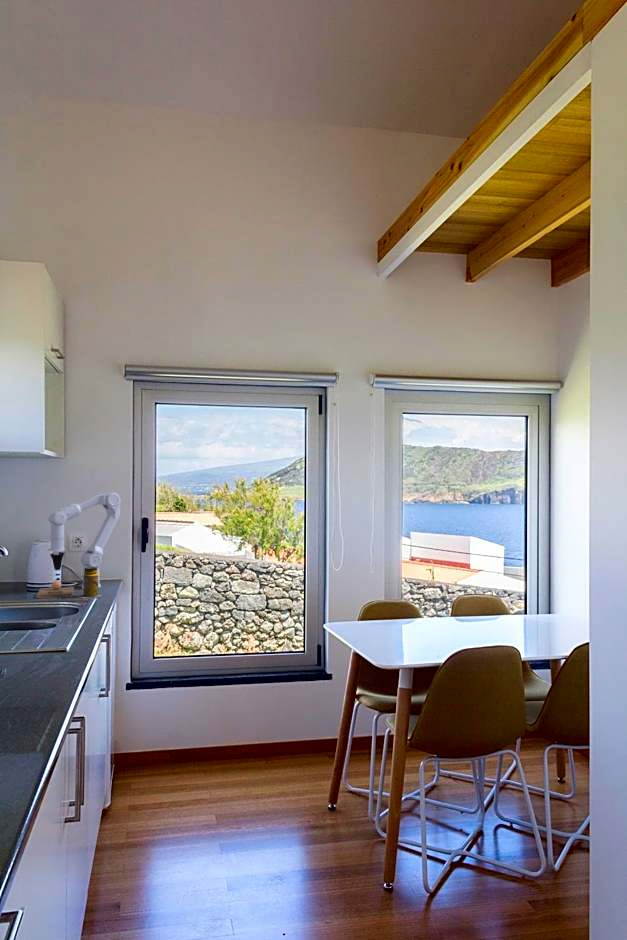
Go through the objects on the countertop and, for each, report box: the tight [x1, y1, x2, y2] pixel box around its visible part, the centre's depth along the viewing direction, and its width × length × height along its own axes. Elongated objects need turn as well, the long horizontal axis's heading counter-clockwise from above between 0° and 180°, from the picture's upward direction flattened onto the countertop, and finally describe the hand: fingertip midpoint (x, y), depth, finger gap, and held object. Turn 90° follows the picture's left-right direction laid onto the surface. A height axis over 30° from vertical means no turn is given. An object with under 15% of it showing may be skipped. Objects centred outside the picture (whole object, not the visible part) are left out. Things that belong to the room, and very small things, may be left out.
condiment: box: [75, 567, 102, 599], centre depth 337 cm, size 7×8×12 cm
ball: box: [51, 579, 62, 590], centre depth 345 cm, size 4×4×4 cm
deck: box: [35, 586, 75, 599], centre depth 341 cm, size 18×14×2 cm
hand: (57, 569), depth 351 cm, fingers closed
